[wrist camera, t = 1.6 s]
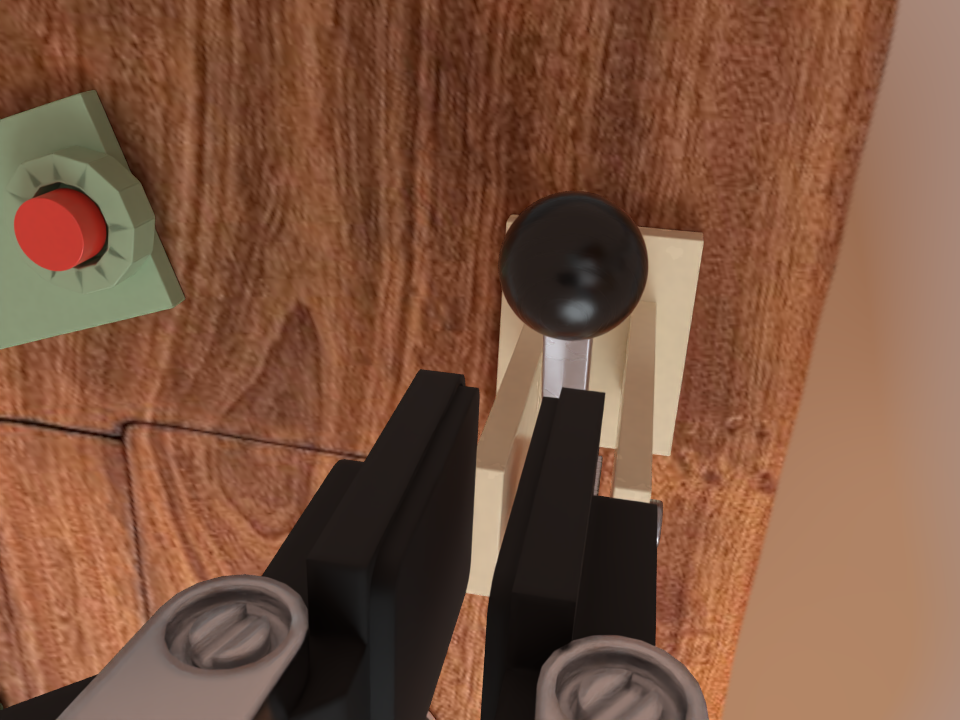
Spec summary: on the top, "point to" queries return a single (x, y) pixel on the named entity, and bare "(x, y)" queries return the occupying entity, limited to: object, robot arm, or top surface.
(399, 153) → the top surface
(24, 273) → the button box
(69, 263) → the button
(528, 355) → the switch bracket
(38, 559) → the top surface
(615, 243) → the lever
